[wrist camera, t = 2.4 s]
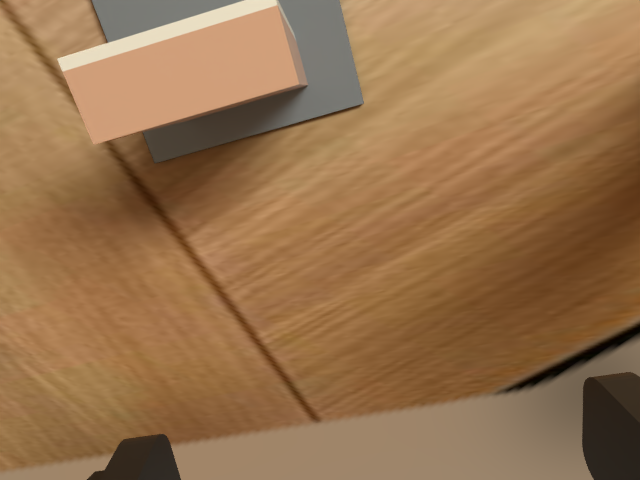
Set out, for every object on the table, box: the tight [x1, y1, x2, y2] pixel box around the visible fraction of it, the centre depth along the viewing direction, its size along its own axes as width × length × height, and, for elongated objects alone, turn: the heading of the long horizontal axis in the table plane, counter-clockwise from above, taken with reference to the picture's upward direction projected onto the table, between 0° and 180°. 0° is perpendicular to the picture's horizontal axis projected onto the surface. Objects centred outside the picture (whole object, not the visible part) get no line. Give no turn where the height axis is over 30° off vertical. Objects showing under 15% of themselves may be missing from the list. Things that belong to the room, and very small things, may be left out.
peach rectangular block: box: [58, 0, 308, 145], centre depth 26 cm, size 9×4×15 cm, turn 106°
